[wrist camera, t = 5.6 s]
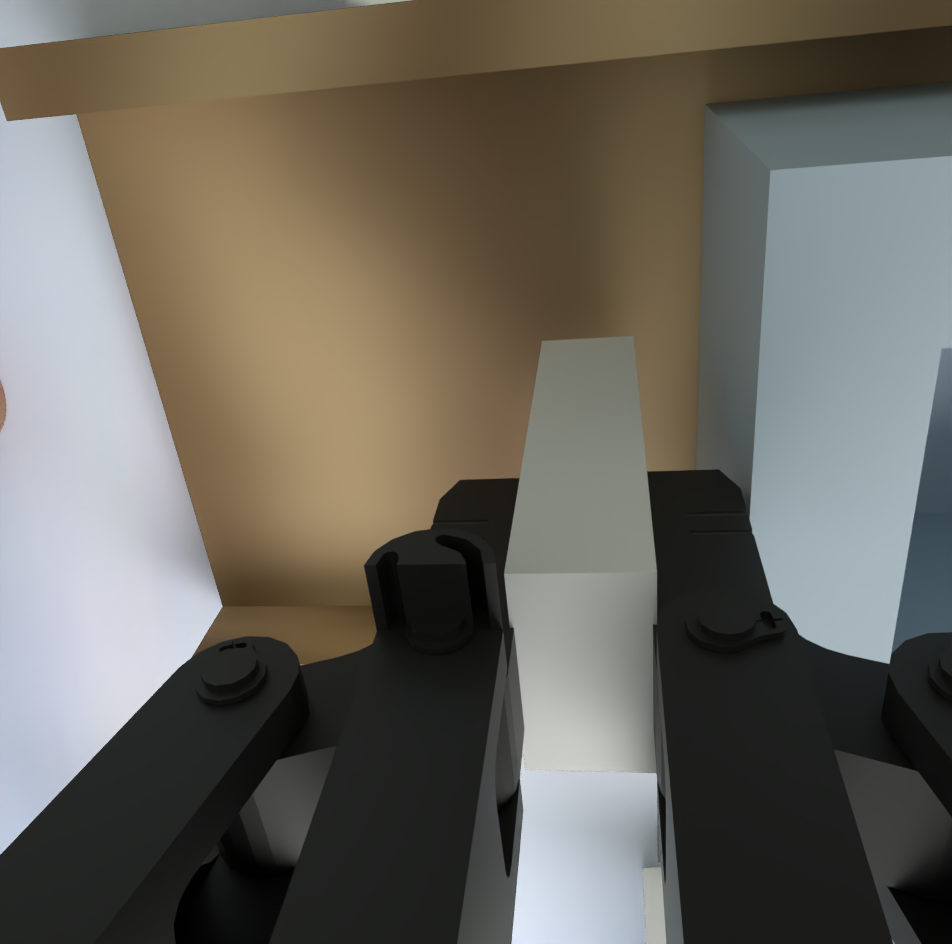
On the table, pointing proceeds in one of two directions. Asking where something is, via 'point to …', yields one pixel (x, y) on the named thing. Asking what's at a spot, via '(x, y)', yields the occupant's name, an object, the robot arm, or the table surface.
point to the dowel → (2, 407)
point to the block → (834, 352)
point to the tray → (416, 242)
